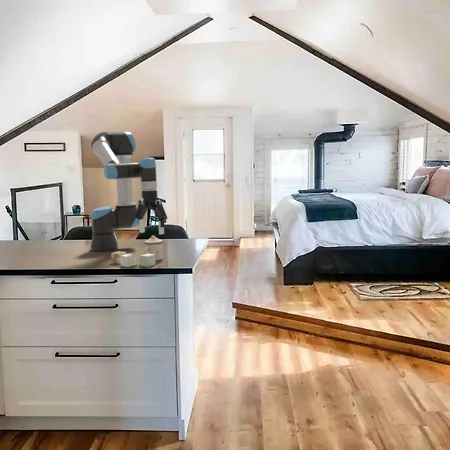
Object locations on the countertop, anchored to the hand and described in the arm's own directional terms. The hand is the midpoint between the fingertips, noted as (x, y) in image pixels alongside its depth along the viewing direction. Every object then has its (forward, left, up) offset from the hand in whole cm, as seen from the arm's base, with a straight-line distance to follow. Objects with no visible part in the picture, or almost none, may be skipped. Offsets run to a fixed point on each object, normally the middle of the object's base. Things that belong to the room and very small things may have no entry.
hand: (151, 233), depth 253 cm
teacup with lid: (0, 0, -14) cm, 14 cm away
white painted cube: (-1, -15, -13) cm, 20 cm away
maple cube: (-10, -13, -13) cm, 21 cm away
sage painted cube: (+7, -10, -13) cm, 18 cm away
